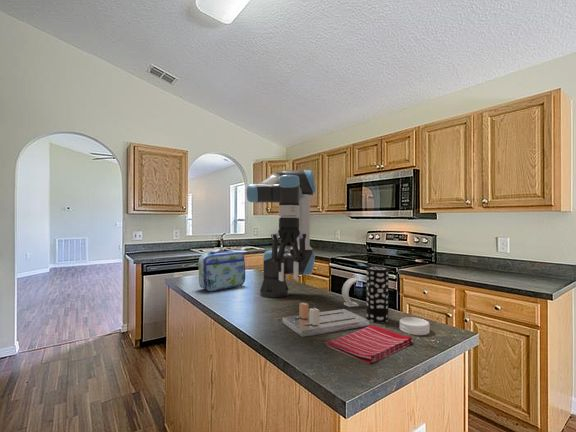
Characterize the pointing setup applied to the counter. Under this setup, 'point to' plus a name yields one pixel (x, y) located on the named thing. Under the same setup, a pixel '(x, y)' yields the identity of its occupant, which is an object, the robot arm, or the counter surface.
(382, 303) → the white-spotted black cylinder
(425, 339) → the counter surface
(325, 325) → the console
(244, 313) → the counter surface
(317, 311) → the fader cream
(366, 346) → the dish towel
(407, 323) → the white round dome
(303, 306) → the fader terracotta
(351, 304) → the headphone stand
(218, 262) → the lunch box
